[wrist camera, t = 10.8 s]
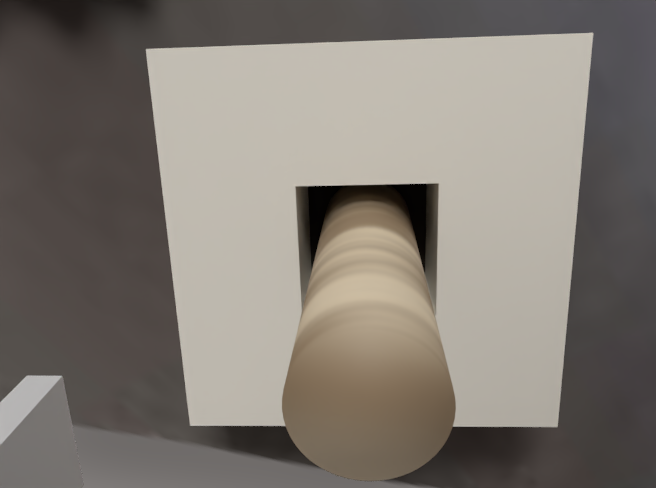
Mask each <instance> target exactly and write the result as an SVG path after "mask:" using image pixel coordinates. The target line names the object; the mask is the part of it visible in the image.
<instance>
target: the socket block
mask: <svg viewBox="0 0 656 488" xmlns="http://www.w3.org/2000/svg"><path fill="white" fill-rule="evenodd" d="M592 41H593V33H578V34H550V35H522V36H495V37H467V38H439V39H412V40H384V41H356V42H329V43H301V44H273V45H246V46H218V47H190V48H163V49H146V55H147V64H148V72H149V81H150V89H151V98H152V106H153V115H154V123H155V132H156V140H157V149H158V157H159V166H160V174H161V183H162V191H163V199H164V208H165V216H166V225H167V233H168V242H169V250H170V259H171V267H172V276H173V284H174V293H175V301H176V310H177V318H178V327H179V335H180V344H181V352H182V361H183V369H184V378H185V386H186V395H187V403H188V412H189V420H190V426H285V422H284V419H283V413H282V396H283V389H284V385H285V381H286V377H287V372H288V368H289V364H290V360H291V356H292V351H293V347H294V343H295V339H296V335H297V331H298V326H299V322H300V318H301V314H302V310H303V305H304V301H305V297H306V293H307V289H308V284H309V280H310V276H311V272H312V266H311V243H310V221H309V199H308V186H337V185H384V184H426V237H425V273H424V274H425V278H426V282H427V286H428V290H429V294H430V298H431V302H432V306H433V310H434V314H435V318H436V322H437V326H438V330H439V334H440V338H441V342H442V346H443V350H444V354H445V358H446V362H447V365H448V369H449V373H450V377H451V381H452V385H453V390H454V395H455V402H456V412H455V420H454V423H453V427H558V416H559V405H560V394H561V383H562V372H563V361H564V350H565V339H566V328H567V317H568V306H569V295H570V284H571V273H572V261H573V250H574V239H575V228H576V217H577V206H578V195H579V184H580V173H581V162H582V151H583V140H584V129H585V118H586V107H587V96H588V85H589V74H590V63H591V52H592Z"/></svg>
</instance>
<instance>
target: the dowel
mask: <svg viewBox="0 0 656 488" xmlns="http://www.w3.org/2000/svg"><path fill="white" fill-rule="evenodd" d="M455 412H456V402H455V395H454V390H453V385H452V381H451V377H450V373H449V369H448V365H447V362H446V358H445V354H444V350H443V346H442V342H441V338H440V334H439V330H438V326H437V322H436V318H435V314H434V310H433V306H432V302H431V298H430V294H429V290H428V286H427V282H426V278H425V274H424V270H423V266H422V262H421V258H420V254H419V250H418V246H417V242H416V238H415V234H414V230H413V226H412V222H411V218H410V214H409V210H408V207H407V204H406V202H405V200H404V198H403V197H402V196H401V194H400V193H399V192H398V191H397V190H396V189H395V188H393V187H392V186H390V185H389V184H384V185H344V186H343V187H341V188H340V189H339V190H338V191H337V192H336V193H335V194H334V195H333V197H332V198H331V200H330V202H329V204H328V206H327V209H326V213H325V217H324V221H323V226H322V230H321V234H320V238H319V242H318V247H317V251H316V255H315V259H314V263H313V268H312V272H311V276H310V280H309V284H308V289H307V293H306V297H305V301H304V305H303V310H302V314H301V318H300V322H299V326H298V331H297V335H296V339H295V343H294V347H293V351H292V356H291V360H290V364H289V368H288V372H287V377H286V381H285V385H284V389H283V396H282V413H283V419H284V422H285V426H286V429H287V431H288V433H289V435H290V437H291V439H292V440H293V442H294V444H295V445H296V446H297V448H298V449H299V450H300V451H301V452H302V453H303V454H304V455H305V456H306V457H307V458H308V459H309V460H310V461H312V462H313V463H314V464H316V465H317V466H319V467H320V468H322V469H324V470H326V471H328V472H330V473H333V474H335V475H337V476H341V477H344V478H348V479H353V480H360V481H381V480H388V479H393V478H396V477H400V476H403V475H405V474H408V473H410V472H412V471H414V470H416V469H418V468H420V467H421V466H423V465H424V464H426V463H427V462H428V461H430V460H431V459H432V458H433V457H434V456H435V455H436V454H437V453H438V452H439V450H440V449H441V448H442V447H443V445H444V444H445V442H446V440H447V439H448V437H449V435H450V432H451V430H452V427H453V423H454V420H455Z"/></svg>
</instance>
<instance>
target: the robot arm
mask: <svg viewBox="0 0 656 488" xmlns="http://www.w3.org/2000/svg"><path fill="white" fill-rule="evenodd" d="M83 485H84V483H83V478H82V473H81V469H80V463H79V458H78V453H77V448H76V442H75V437H74V432H73V427H72V422H71V417H70V412H69V407H68V402H67V397H66V392H65V386H64V381H63V376H26V377H25V378H24V379H23V380H22V381H21V382H20V383H19V384H18V385H17V386H16V387H15V388H14V389H13V390H12V391H11V392H10V393H9V394H8V395H7V396H6V397H5V398H4V399H3V400H2V401H1V402H0V488H82V487H83Z"/></svg>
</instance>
